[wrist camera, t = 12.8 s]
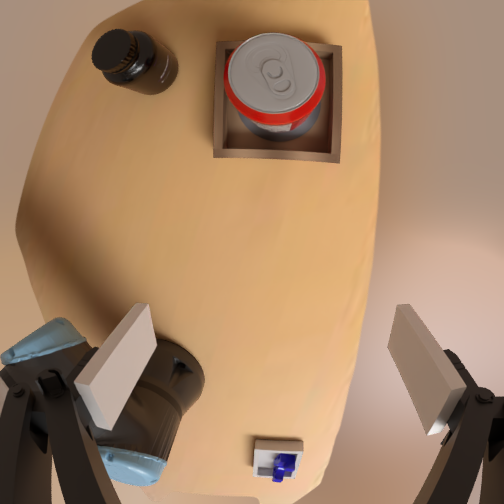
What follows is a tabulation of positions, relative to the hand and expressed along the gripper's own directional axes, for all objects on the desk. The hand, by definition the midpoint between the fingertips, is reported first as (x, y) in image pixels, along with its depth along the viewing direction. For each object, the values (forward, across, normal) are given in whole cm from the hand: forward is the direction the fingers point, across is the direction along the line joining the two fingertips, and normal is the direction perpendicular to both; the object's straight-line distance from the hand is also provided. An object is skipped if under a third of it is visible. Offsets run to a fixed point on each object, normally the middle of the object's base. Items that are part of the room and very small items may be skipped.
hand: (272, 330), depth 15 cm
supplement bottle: (+25, -15, +21) cm, 36 cm away
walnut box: (+24, +1, +15) cm, 29 cm away
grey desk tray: (+26, +1, -53) cm, 59 cm away
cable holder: (+25, +2, -55) cm, 61 cm away
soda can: (+24, +1, +15) cm, 28 cm away
